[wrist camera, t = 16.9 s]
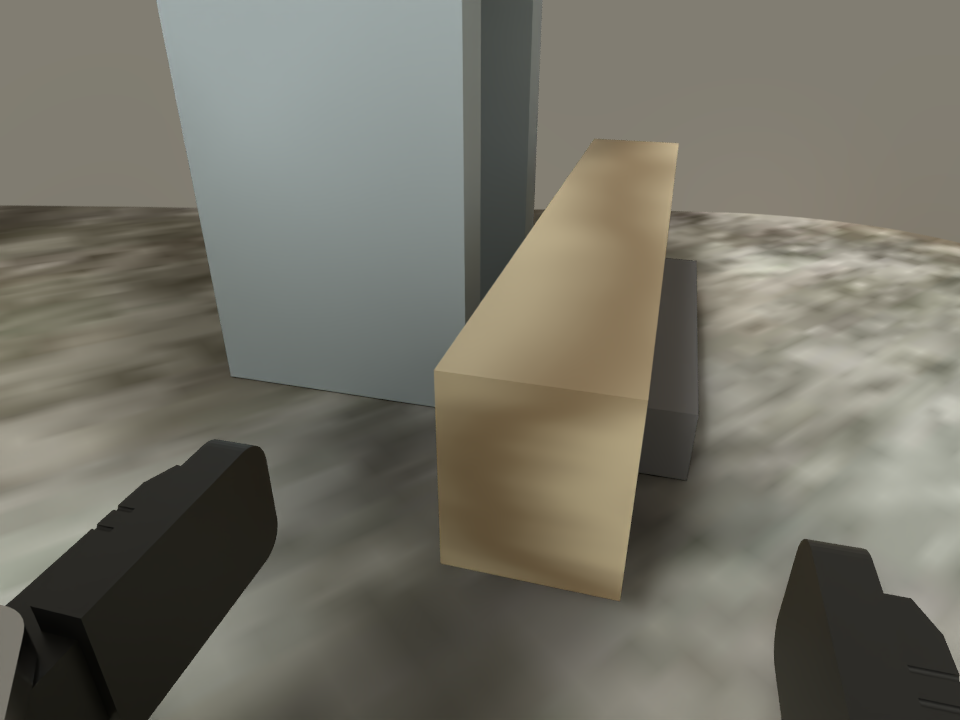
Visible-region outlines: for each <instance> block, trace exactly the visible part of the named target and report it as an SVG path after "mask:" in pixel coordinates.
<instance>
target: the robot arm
mask: <svg viewBox="0 0 960 720" xmlns="http://www.w3.org/2000/svg"><path fill="white" fill-rule="evenodd" d="M276 535H277V516H276V510H275V505H274V499H273V494H272V488H271V483H270V477H269V472H268V466H267V461H266V457H265V454H264V452H263V450H262V449H261V448H260V447H258V446H253V445H247V444H241V443H235V442H229V441H223V440H216V439H214V440H210V441H209V442H207V443H206V444H204V445H203V446H202V447H201V448H200V449H199V450H198V451H197V452H196V453H195V454H193V455H192V456H191V457H190V458H189V459H188V460H187V461H186V462H185V463H184V464H183V465H182V466H179V465H176V466H174V467H172V468H170V469H168V470H166V471H165V472H163V473H161V474H159V475H157V476H155V477H153V478H151V479H150V480H148V481H146V482H144V483H143V484H142V485H140V486H139V487H138V488H137V489H136V490H135V491H134V492H133V493H131V494H130V495H129V496H128V497H127V498H126V499H125V500H124V501H122V502H121V503H120V504H119V505H118V509H117V510H112V511H111V512H110V513H109V514H108V515H107V516H106V517H105V518H103V519H102V520H101V521H100V522H99V523H98V524H97V528H96V529H95V530H94V529H91V530H90V531H89V532H88V533H87V534H86V535H84V536H83V537H82V538H81V539H80V540H79V541H78V542H77V543H76V544H74V545H73V546H72V547H71V548H70V549H69V550H68V551H67V552H65V553H64V554H63V555H62V556H61V557H60V558H59V559H58V560H56V561H55V562H54V563H53V564H52V565H51V566H50V567H49V568H48V569H46V570H45V571H44V572H43V573H42V574H41V575H40V576H39V577H37V578H36V579H35V580H34V581H33V582H32V583H31V584H30V585H29V586H27V587H26V588H25V589H24V590H23V591H22V592H21V593H20V594H18V595H17V596H16V597H15V598H14V599H13V600H12V601H10V602H9V603H8V604H7V605H6V606H2V605H0V720H148V719H149V717H150V716H151V715H152V713H153V712H154V711H155V709H156V708H157V707H158V705H159V704H160V703H161V701H162V700H163V699H164V697H165V696H166V695H167V693H168V692H169V691H170V689H171V688H172V687H173V685H174V684H175V683H176V681H177V680H178V679H179V677H180V676H181V674H182V673H183V672H184V670H185V669H186V668H187V666H188V665H189V664H190V662H191V661H192V660H193V658H194V657H195V656H196V654H197V653H198V652H199V650H200V649H201V648H202V646H203V645H204V644H205V642H206V641H207V640H208V638H209V637H210V636H211V634H212V633H213V632H214V630H215V629H216V628H217V626H218V625H219V624H220V622H221V621H222V619H223V618H224V617H225V615H226V614H227V613H228V611H229V610H230V609H231V607H232V606H233V605H234V603H235V602H236V601H237V599H238V598H239V597H240V595H241V594H242V593H243V591H244V590H245V589H246V587H247V586H248V585H249V583H250V582H251V581H252V579H253V578H254V577H255V575H256V574H257V573H258V571H259V570H260V569H261V567H262V566H263V564H264V563H265V562H266V560H267V559H268V557H269V555H270V554H271V551H272V549H273V546H274V544H275V540H276ZM774 664H775V673H776V680H777V688H778V695H779V703H780V710H781V718H782V720H960V682H959V673H958V670H957V668H956V665H955V663H954V660H953V658H952V655H951V653H950V650H949V648H948V645H947V643H946V641H945V638H944V636H943V634H942V633H941V632H940V631H939V630H938V629H937V627H936V626H935V625H934V624H933V623H932V622H931V621H930V619H929V618H928V617H927V616H926V615H925V614H924V613H923V611H922V610H921V609H920V608H919V607H918V606H917V605H916V603H915V602H914V601H913V600H912V599H911V598H906V597H900V596H895V595H889V594H884V593H883V590H882V587H881V584H880V581H879V578H878V575H877V572H876V569H875V566H874V563H873V560H872V558H871V555H870V554H869V552H868V551H867V550H866V549H862V548H856V547H850V546H844V545H838V544H832V543H826V542H820V541H814V540H808V539H803V540H802V541H801V543H800V545H799V547H798V550H797V553H796V556H795V560H794V563H793V567H792V570H791V574H790V577H789V581H788V584H787V588H786V591H785V595H784V598H783V602H782V605H781V609H780V612H779V616H778V619H777V624H776V631H775V641H774Z"/></svg>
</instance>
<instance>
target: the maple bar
mask: <svg viewBox="0 0 960 720" xmlns="http://www.w3.org/2000/svg"><path fill="white" fill-rule="evenodd" d="M678 145H679V144H678V143H663V142H645V141H625V140H606V139H594V140H593V141H592V143H591V144H590V146H589V147H588V149H587V150H586V152H585V153H584V155H583V156H582V157H581V159H580V160H579V162H578V163H577V165H576V166H575V167H574V169H573V170H572V172H571V173H570V175H569V176H568V178H567V179H566V180H565V182H564V183H563V185H562V186H561V188H560V189H559V190H558V192H557V193H556V195H555V196H554V198H553V199H552V201H551V202H550V203H549V205H548V206H547V208H546V209H545V211H544V212H543V214H542V215H541V216H540V218H539V219H538V221H537V222H536V224H535V225H534V227H533V228H532V229H531V231H530V232H529V234H528V235H527V237H526V238H525V239H524V241H523V242H522V244H521V245H520V247H519V248H518V250H517V251H516V252H515V254H514V255H513V257H512V258H511V260H510V261H509V263H508V264H507V265H506V267H505V268H504V270H503V271H502V273H501V274H500V276H499V277H498V278H497V280H496V281H495V283H494V284H493V286H492V287H491V288H490V290H489V291H488V293H487V294H486V296H485V297H484V299H483V300H482V301H481V303H480V304H479V306H478V307H477V309H476V310H475V312H474V313H473V314H472V316H471V317H470V319H469V320H468V322H467V323H466V325H465V326H464V327H463V329H462V330H461V332H460V333H459V335H458V336H457V337H456V339H455V340H454V342H453V343H452V345H451V346H450V348H449V349H448V350H447V352H446V353H445V355H444V356H443V358H442V359H441V361H440V362H439V363H438V365H437V366H436V368H435V369H434V390H435V418H436V447H437V475H438V504H439V533H440V561H441V564H446V565H450V566H455V567H460V568H464V569H469V570H474V571H479V572H483V573H488V574H493V575H498V576H502V577H507V578H512V579H517V580H521V581H526V582H531V583H535V584H540V585H545V586H550V587H554V588H559V589H564V590H569V591H573V592H578V593H583V594H588V595H592V596H597V597H602V598H606V599H611V600H616V601H620V597H621V590H622V583H623V576H624V569H625V562H626V555H627V548H628V540H629V533H630V526H631V519H632V512H633V505H634V498H635V491H636V483H637V476H638V469H639V462H640V455H641V448H642V441H643V434H644V427H645V419H646V412H647V405H648V398H649V389H650V381H651V372H652V364H653V356H654V347H655V339H656V330H657V322H658V314H659V305H660V297H661V288H662V280H663V272H664V263H665V255H666V246H667V238H668V230H669V221H670V213H671V204H672V196H673V186H674V179H675V170H676V162H677V153H678Z"/></svg>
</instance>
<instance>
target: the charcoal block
mask: <svg viewBox="0 0 960 720" xmlns="http://www.w3.org/2000/svg"><path fill="white" fill-rule="evenodd" d="M698 416H699V407H698V335H697V263H696V261H693V260H682V259H671V258H665V263H664V272H663V280H662V288H661V297H660V305H659V314H658V322H657V330H656V339H655V347H654V356H653V364H652V372H651V381H650V389H649V398H648V405H647V412H646V419H645V427H644V434H643V441H642V448H641V455H640V462H639V469H638V472H639V473H645V474H651V475H657V476H663V477H670V478H676V479H682V480H687V475H688V470H689V465H690V459H691V454H692V448H693V443H694V437H695V432H696V427H697V421H698Z"/></svg>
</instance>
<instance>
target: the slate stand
mask: <svg viewBox="0 0 960 720" xmlns="http://www.w3.org/2000/svg"><path fill="white" fill-rule="evenodd" d="M156 1H157V6H158V11H159V16H160V21H161V26H162V31H163V36H164V41H165V46H166V51H167V56H168V61H169V66H170V71H171V76H172V81H173V87H174V92H175V97H176V102H177V107H178V112H179V117H180V122H181V127H182V132H183V137H184V142H185V147H186V152H187V156H188V162H189V167H190V172H191V177H192V182H193V187H194V192H195V197H196V202H197V207H198V212H199V217H200V222H201V227H202V233H203V238H204V243H205V248H206V253H207V258H208V263H209V268H210V273H211V278H212V283H213V288H214V293H215V298H216V303H217V308H218V313H219V318H220V323H221V328H222V333H223V338H224V343H225V348H226V353H227V358H228V363H229V368H230V373H231V376H234V377H240V378H247V379H254V380H260V381H267V382H273V383H280V384H287V385H293V386H300V387H306V388H313V389H320V390H326V391H333V392H339V393H346V394H353V395H359V396H366V397H372V398H379V399H386V400H392V401H399V402H405V403H412V404H419V405H425V406H432V407H435V390H434V369H435V368H436V366H437V365H438V363H439V362H440V361H441V359H442V358H443V356H444V355H445V353H446V352H447V350H448V349H449V348H450V346H451V345H452V343H453V342H454V340H455V339H456V337H457V336H458V335H459V333H460V332H461V330H462V329H463V327H464V326H465V325H466V323H467V322H468V320H469V319H470V317H471V316H472V314H473V313H474V312H475V310H476V309H477V307H478V306H479V304H480V302H481V301H482V300H483V299H484V297H485V296H486V294H487V293H488V291H489V290H490V288H491V287H492V286H493V284H494V283H495V281H496V280H497V278H498V277H499V276H500V274H501V273H502V271H503V270H504V268H505V267H506V265H507V264H508V263H509V261H510V260H511V258H512V257H513V255H514V254H515V252H516V251H517V250H518V248H519V247H520V245H521V244H522V242H523V241H524V239H525V238H526V237H527V235H528V234H529V232H530V231H531V229H532V228H533V220H534V195H535V169H536V144H537V118H538V94H539V71H540V70H539V69H540V46H541V19H542V0H156Z"/></svg>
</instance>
